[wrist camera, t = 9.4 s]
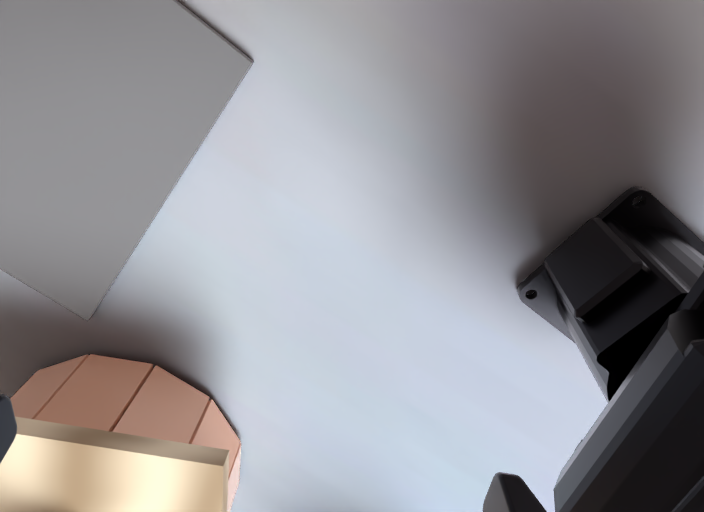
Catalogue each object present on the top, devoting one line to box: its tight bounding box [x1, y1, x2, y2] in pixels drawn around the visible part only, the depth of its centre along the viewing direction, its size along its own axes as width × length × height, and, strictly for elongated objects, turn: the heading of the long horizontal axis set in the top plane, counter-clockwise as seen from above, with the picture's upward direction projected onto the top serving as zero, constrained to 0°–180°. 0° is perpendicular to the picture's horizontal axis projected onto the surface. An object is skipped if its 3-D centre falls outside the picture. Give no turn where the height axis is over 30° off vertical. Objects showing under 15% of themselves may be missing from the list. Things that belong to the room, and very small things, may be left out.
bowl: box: [10, 354, 241, 512], centre depth 26 cm, size 13×13×6 cm
